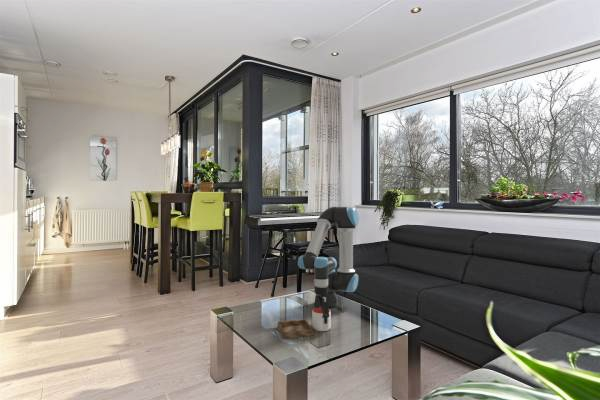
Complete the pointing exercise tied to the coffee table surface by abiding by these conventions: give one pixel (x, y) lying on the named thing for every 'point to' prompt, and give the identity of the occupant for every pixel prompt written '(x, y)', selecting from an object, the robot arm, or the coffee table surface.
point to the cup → (319, 319)
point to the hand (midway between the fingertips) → (321, 324)
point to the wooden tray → (295, 329)
